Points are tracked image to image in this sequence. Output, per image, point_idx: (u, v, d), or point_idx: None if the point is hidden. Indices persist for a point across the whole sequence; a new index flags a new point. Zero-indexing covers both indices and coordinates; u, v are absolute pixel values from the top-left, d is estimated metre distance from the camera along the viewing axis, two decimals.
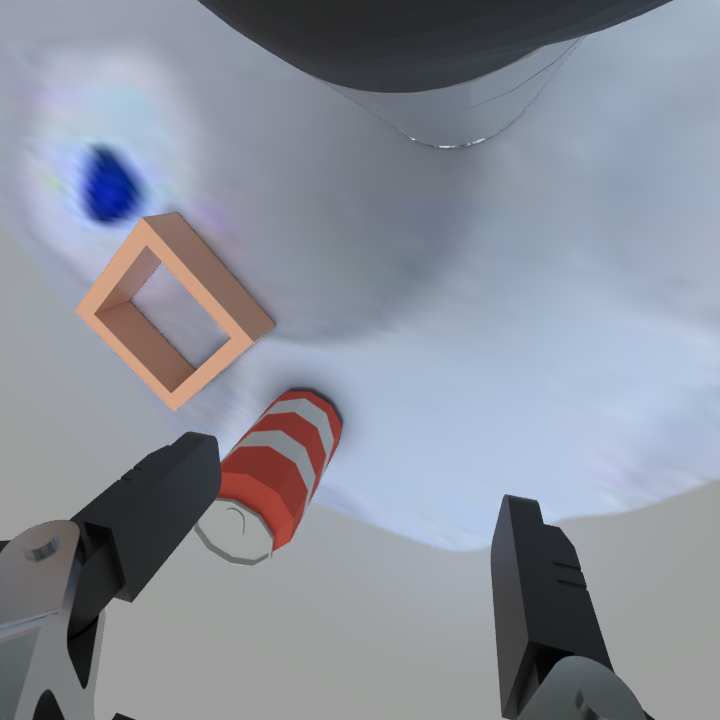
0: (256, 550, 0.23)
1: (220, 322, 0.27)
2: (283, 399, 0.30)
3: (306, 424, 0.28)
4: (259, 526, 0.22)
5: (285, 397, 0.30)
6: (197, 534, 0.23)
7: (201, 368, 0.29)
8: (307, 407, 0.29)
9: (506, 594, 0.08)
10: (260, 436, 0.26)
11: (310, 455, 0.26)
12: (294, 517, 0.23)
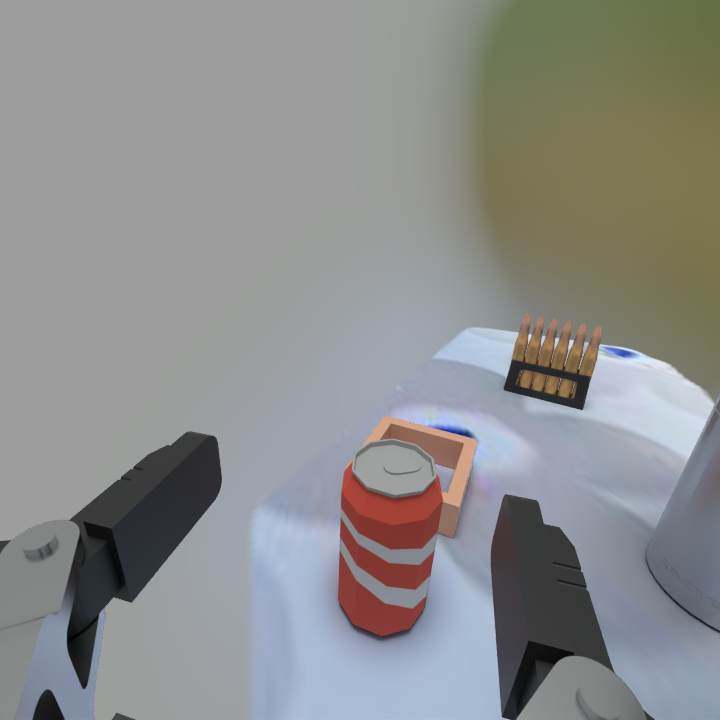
0: (384, 487, 0.22)
1: (453, 484, 0.35)
2: None
3: None
4: (418, 483, 0.23)
5: None
6: (367, 445, 0.25)
7: None
8: None
9: (506, 594, 0.08)
10: None
11: (428, 559, 0.25)
12: (424, 521, 0.22)
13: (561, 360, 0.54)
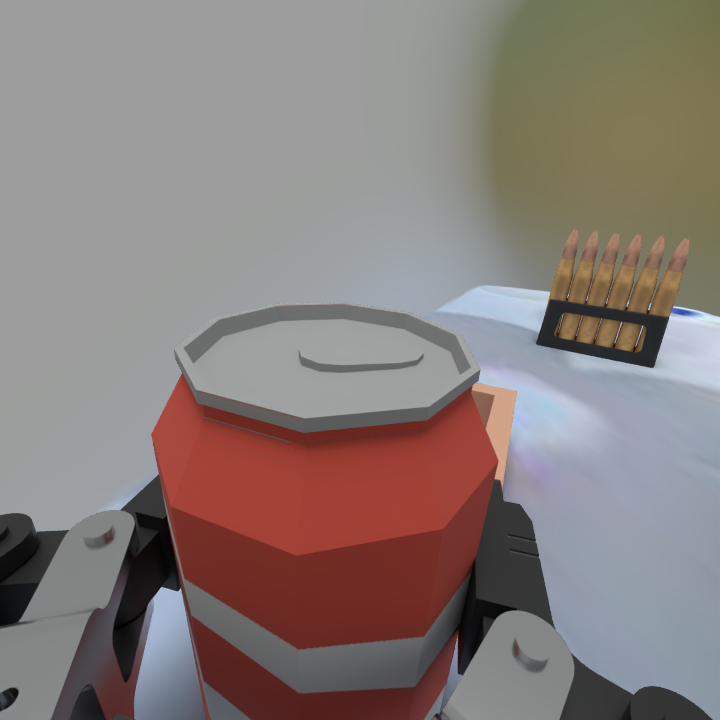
0: (277, 403, 0.06)
1: None
2: None
3: None
4: (413, 393, 0.06)
5: None
6: (265, 309, 0.09)
7: None
8: None
9: None
10: None
11: (443, 653, 0.08)
12: (434, 538, 0.05)
13: (624, 295, 0.38)
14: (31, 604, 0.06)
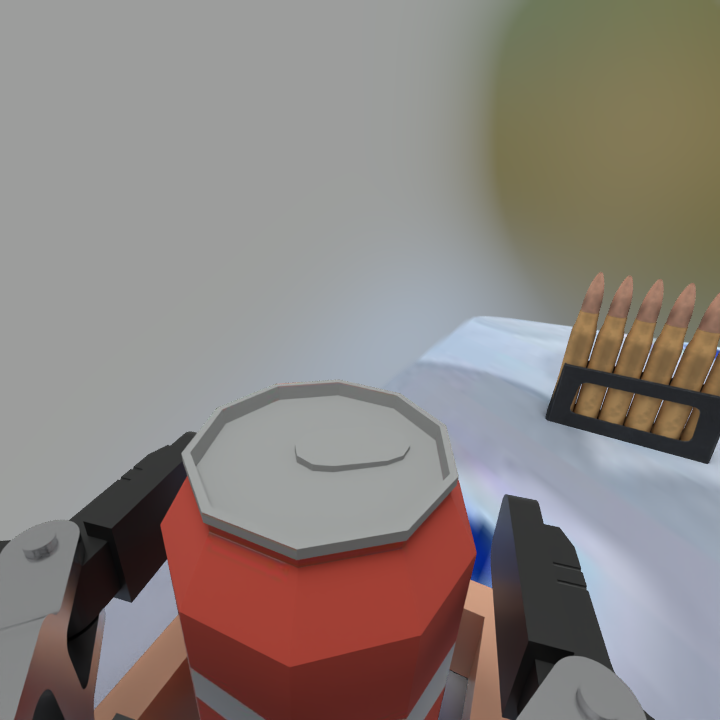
0: (274, 515, 0.06)
1: None
2: None
3: None
4: (397, 499, 0.07)
5: None
6: (265, 391, 0.09)
7: None
8: None
9: (506, 594, 0.08)
10: None
11: (428, 718, 0.09)
12: (413, 642, 0.06)
13: (669, 366, 0.27)
14: None
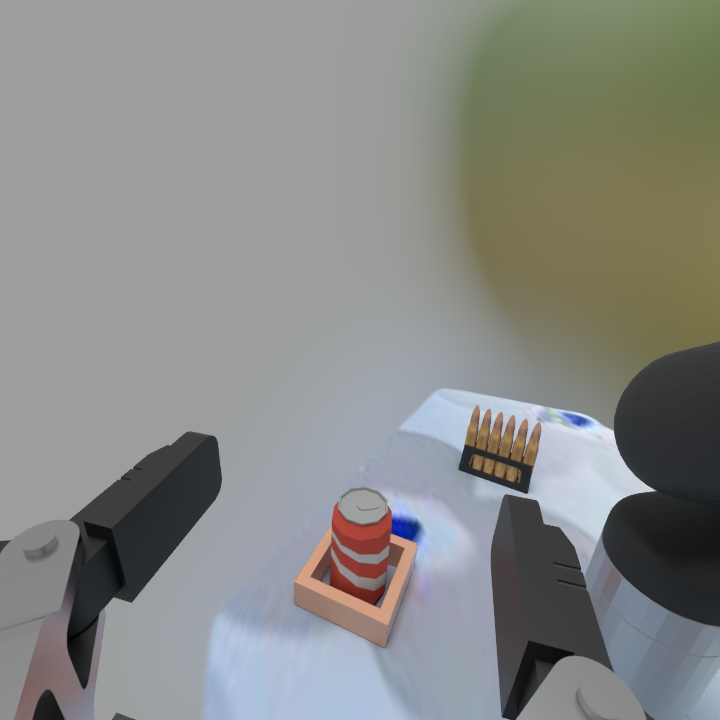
0: (356, 518, 0.39)
1: (386, 598, 0.40)
2: None
3: None
4: (376, 515, 0.39)
5: None
6: (348, 490, 0.42)
7: (344, 593, 0.40)
8: None
9: (506, 594, 0.08)
10: None
11: (384, 561, 0.41)
12: (378, 538, 0.39)
13: (507, 449, 0.60)
14: None
